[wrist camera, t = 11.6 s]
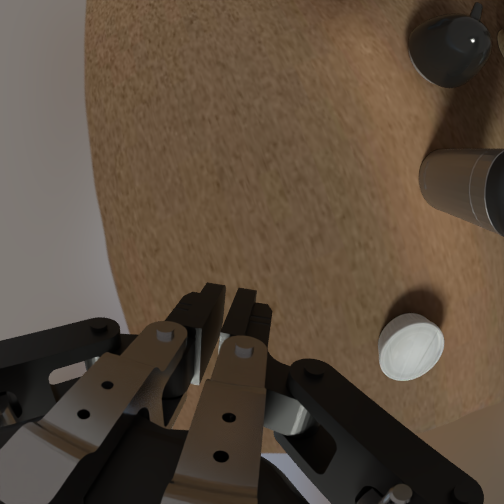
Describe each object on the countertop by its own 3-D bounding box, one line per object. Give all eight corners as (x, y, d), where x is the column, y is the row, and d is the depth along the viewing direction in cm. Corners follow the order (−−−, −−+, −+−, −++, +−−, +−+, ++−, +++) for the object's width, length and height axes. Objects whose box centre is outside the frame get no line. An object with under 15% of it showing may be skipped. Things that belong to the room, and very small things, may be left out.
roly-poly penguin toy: (462, 52, 32) (515, 24, 18) (451, 104, 35) (510, 88, 21) (407, 20, 32) (447, -24, 18) (393, 72, 35) (437, 38, 21)
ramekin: (432, 352, 47) (443, 369, 42) (375, 370, 49) (382, 389, 44) (432, 298, 44) (445, 313, 39) (369, 317, 46) (377, 334, 41)
